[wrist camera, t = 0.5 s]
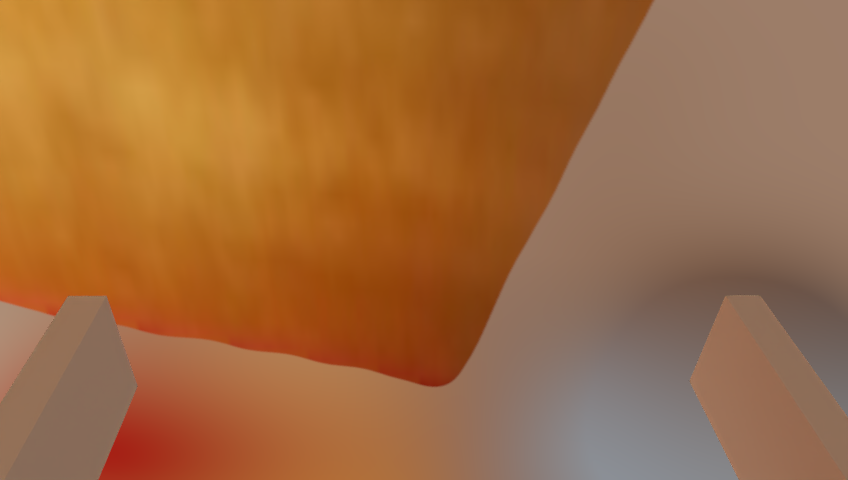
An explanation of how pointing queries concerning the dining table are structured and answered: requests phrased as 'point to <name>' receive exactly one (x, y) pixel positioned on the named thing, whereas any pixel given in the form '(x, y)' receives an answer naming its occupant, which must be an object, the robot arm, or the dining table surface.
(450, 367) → the dining table surface
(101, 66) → the dining table surface
